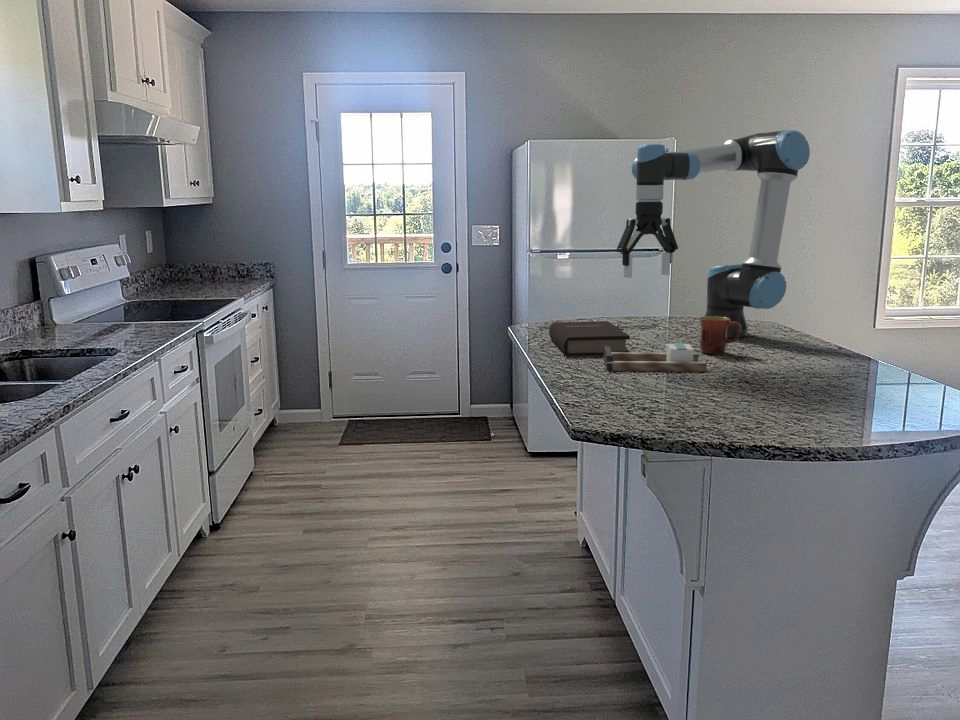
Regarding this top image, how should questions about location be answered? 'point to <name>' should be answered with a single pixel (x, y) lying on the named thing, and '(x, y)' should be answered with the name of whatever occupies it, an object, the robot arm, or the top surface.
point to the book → (587, 337)
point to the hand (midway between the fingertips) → (646, 276)
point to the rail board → (648, 362)
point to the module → (679, 352)
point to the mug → (716, 334)
